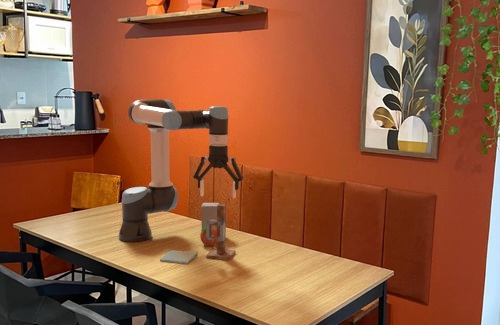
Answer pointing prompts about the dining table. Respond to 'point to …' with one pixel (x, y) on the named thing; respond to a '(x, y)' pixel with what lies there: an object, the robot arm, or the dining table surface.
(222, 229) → the c link
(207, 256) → the stand
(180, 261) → the coaster
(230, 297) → the dining table surface
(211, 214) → the skincare box
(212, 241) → the fruit
